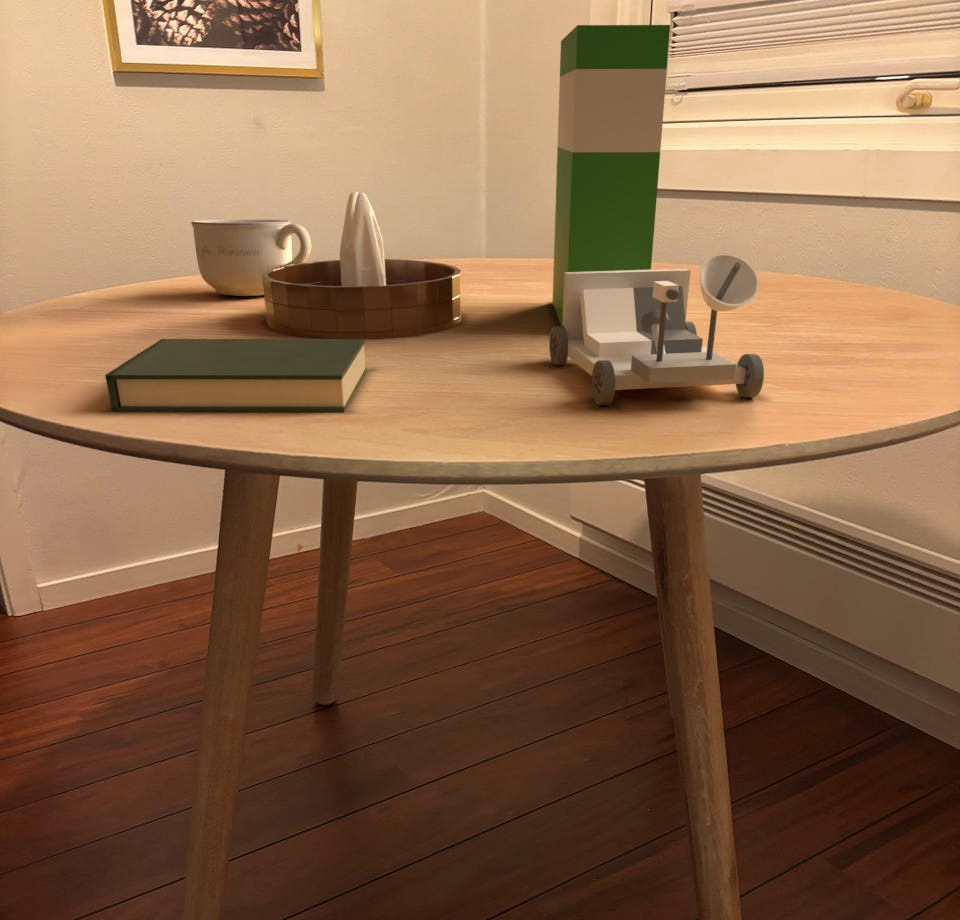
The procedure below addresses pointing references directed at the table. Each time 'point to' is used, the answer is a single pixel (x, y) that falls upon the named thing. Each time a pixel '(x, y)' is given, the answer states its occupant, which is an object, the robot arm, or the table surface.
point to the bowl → (362, 300)
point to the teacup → (245, 252)
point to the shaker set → (361, 245)
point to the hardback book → (608, 149)
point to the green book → (239, 376)
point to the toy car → (653, 328)
